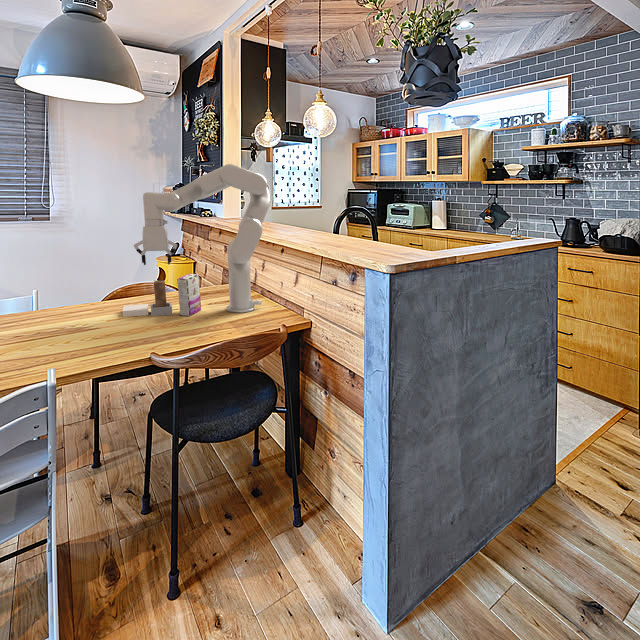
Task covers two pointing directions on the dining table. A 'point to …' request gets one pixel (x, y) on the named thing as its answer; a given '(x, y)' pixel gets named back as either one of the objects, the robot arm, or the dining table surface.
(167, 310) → the pocket
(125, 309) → the thin white tile
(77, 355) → the dining table surface
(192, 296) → the candy bar box
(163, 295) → the walnut block
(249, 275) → the robot arm
